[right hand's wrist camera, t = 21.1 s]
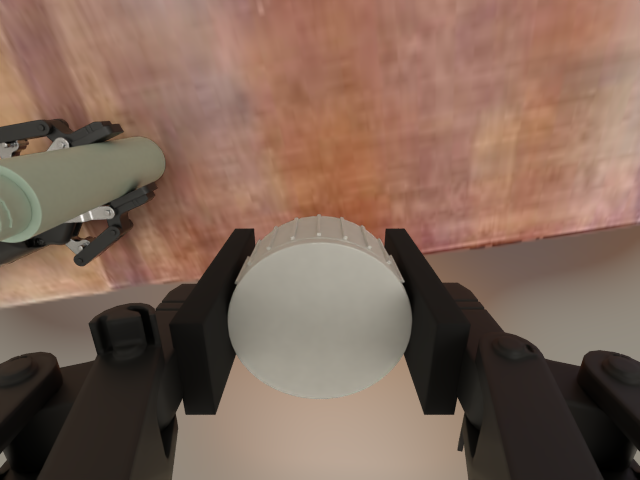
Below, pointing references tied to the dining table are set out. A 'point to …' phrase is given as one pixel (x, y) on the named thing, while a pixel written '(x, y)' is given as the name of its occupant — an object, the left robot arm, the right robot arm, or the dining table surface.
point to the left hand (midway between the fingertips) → (134, 158)
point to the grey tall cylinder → (71, 183)
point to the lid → (319, 309)
